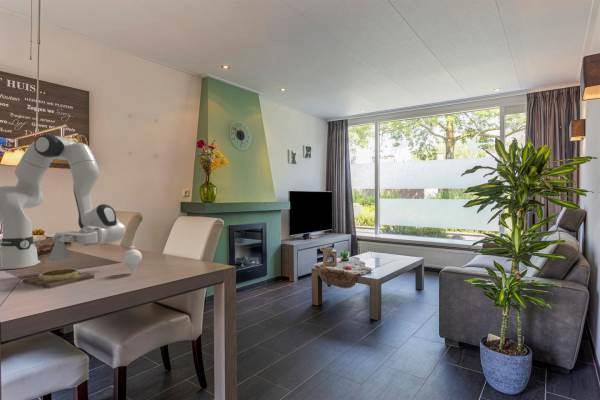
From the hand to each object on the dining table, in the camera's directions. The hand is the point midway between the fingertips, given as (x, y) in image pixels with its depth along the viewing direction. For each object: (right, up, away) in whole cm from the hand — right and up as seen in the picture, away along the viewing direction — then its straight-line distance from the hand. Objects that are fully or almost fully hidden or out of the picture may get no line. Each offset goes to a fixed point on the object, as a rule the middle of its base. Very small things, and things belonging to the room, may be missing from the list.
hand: (56, 239), depth 139 cm
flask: (0, -8, +1) cm, 8 cm away
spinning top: (+25, -17, +13) cm, 32 cm away
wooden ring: (0, -16, +1) cm, 16 cm away
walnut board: (0, -17, +1) cm, 17 cm away
